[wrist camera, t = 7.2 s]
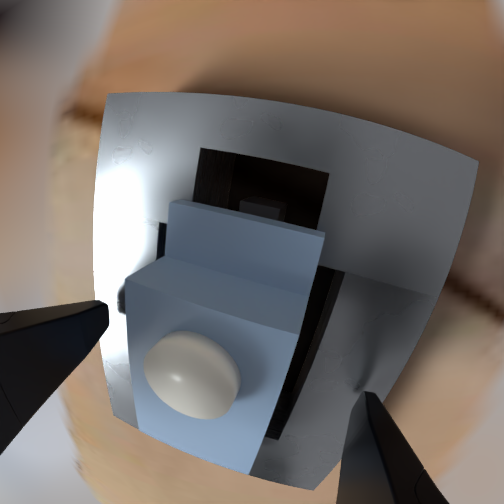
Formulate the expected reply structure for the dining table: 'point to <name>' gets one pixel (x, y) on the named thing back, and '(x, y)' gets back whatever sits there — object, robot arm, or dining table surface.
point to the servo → (218, 326)
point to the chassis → (331, 222)
